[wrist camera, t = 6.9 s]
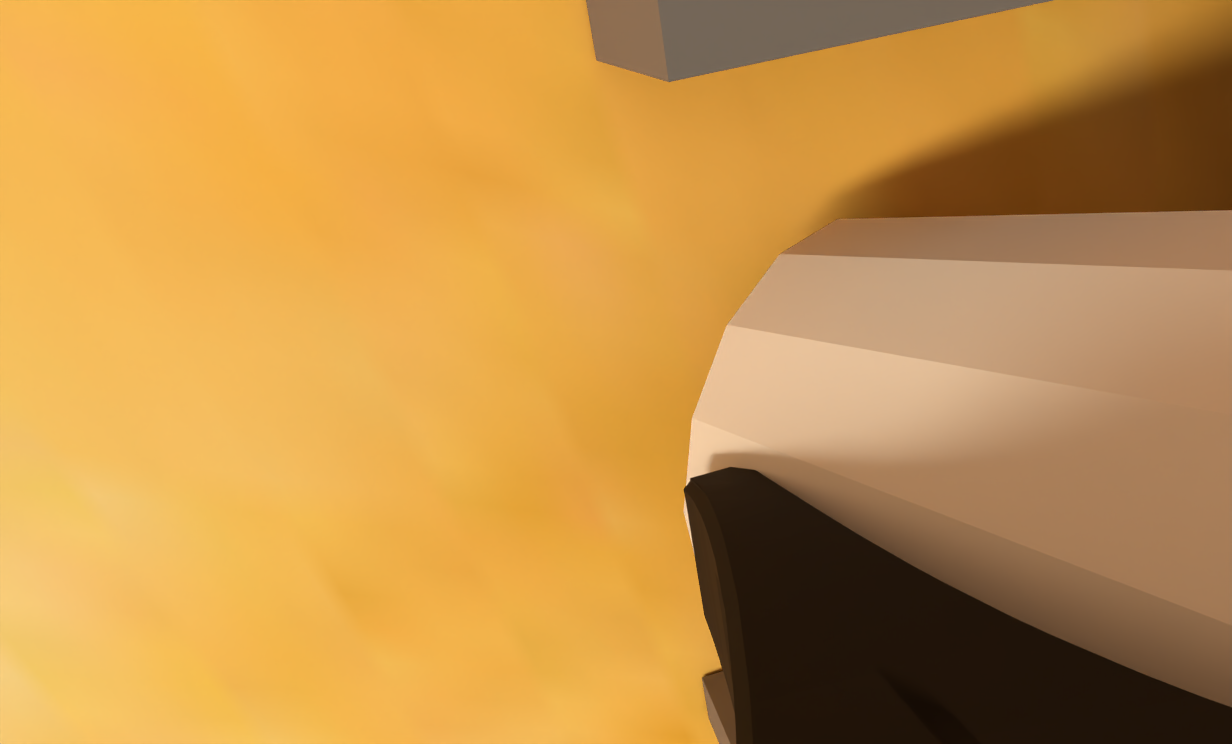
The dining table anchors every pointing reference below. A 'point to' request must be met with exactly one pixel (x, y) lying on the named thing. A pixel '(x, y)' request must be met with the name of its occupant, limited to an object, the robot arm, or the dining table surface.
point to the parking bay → (743, 35)
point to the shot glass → (1008, 415)
